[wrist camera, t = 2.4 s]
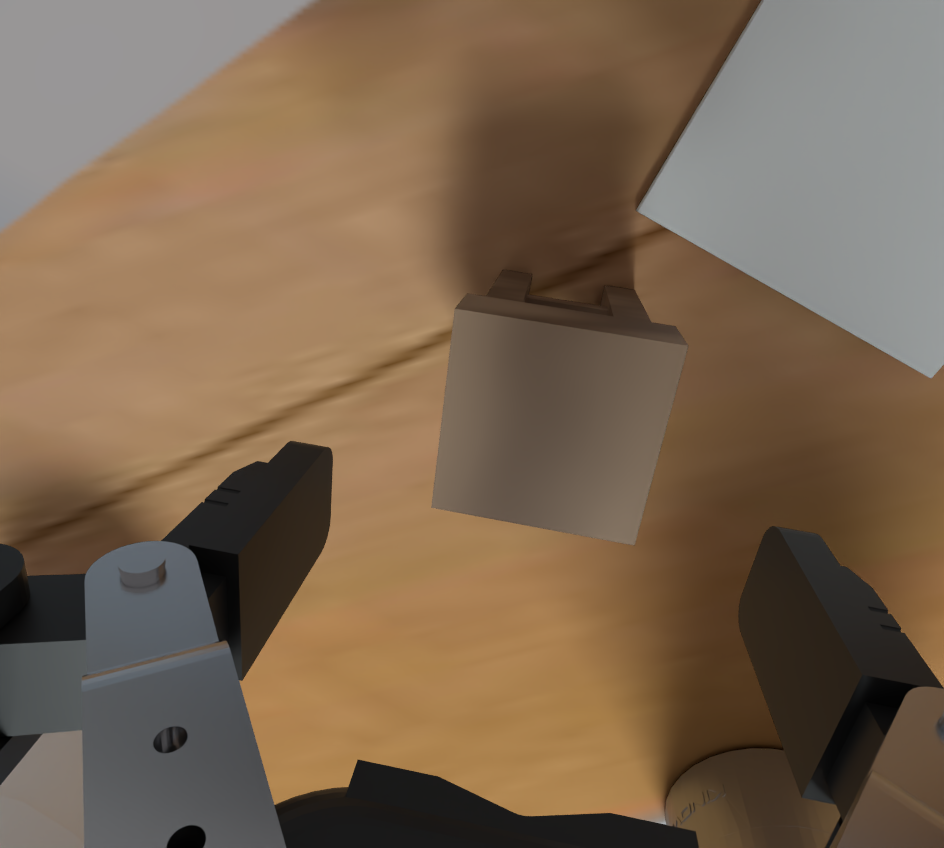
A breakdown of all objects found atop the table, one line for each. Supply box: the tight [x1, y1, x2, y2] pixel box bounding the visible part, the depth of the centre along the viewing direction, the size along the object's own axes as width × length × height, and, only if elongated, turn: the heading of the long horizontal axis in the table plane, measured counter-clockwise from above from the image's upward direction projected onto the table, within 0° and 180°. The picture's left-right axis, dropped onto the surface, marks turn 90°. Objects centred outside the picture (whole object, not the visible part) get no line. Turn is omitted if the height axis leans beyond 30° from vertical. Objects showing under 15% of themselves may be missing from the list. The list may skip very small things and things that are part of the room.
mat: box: [636, 0, 944, 378], centre depth 20 cm, size 12×12×1 cm
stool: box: [431, 270, 688, 545], centre depth 20 cm, size 6×6×9 cm
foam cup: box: [0, 730, 84, 848], centre depth 28 cm, size 10×9×13 cm
